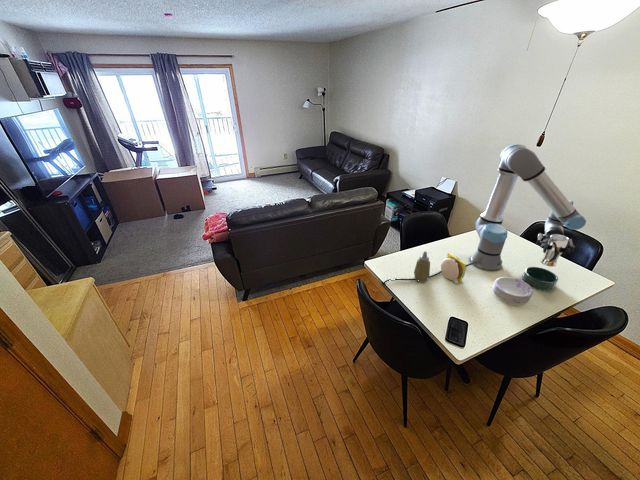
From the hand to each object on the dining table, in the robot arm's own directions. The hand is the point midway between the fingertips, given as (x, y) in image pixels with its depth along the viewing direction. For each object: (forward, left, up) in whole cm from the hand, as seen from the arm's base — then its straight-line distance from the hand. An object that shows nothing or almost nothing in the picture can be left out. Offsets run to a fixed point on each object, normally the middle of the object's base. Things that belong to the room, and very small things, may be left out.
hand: (555, 252), depth 124 cm
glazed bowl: (+1, +4, -21) cm, 22 cm away
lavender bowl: (-18, -11, -21) cm, 30 cm away
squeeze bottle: (-58, -1, -21) cm, 62 cm away
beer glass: (+2, +5, -9) cm, 10 cm away
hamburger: (-42, +3, -21) cm, 47 cm away
